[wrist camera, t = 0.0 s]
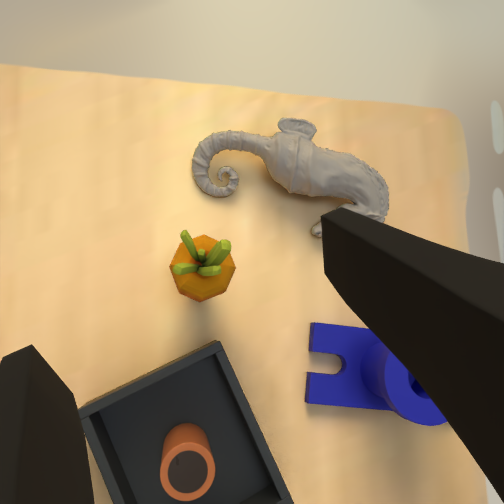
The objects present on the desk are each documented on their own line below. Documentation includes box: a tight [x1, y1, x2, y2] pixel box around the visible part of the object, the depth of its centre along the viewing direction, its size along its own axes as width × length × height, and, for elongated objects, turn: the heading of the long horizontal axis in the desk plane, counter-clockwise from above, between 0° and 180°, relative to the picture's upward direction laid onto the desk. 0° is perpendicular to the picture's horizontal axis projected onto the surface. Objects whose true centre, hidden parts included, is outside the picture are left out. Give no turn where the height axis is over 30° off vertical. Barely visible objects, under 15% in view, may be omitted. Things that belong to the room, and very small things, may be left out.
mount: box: [305, 322, 447, 426], centre depth 40 cm, size 15×8×9 cm, turn 84°
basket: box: [78, 340, 294, 504], centre depth 38 cm, size 15×13×5 cm
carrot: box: [169, 230, 236, 302], centre depth 36 cm, size 5×5×15 cm
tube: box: [160, 423, 215, 501], centre depth 36 cm, size 4×4×8 cm
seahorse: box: [192, 118, 389, 237], centre depth 44 cm, size 5×12×20 cm
